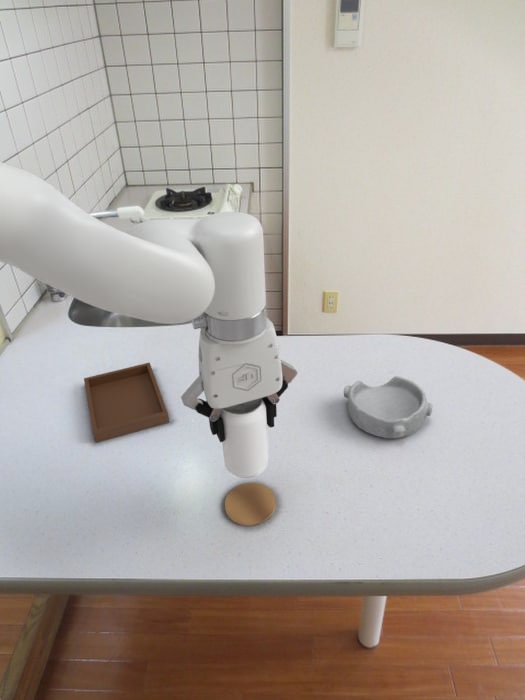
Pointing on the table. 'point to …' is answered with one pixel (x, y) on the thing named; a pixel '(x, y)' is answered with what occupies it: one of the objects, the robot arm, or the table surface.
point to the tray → (124, 402)
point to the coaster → (250, 504)
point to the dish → (388, 407)
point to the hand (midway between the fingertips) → (244, 427)
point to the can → (245, 438)
